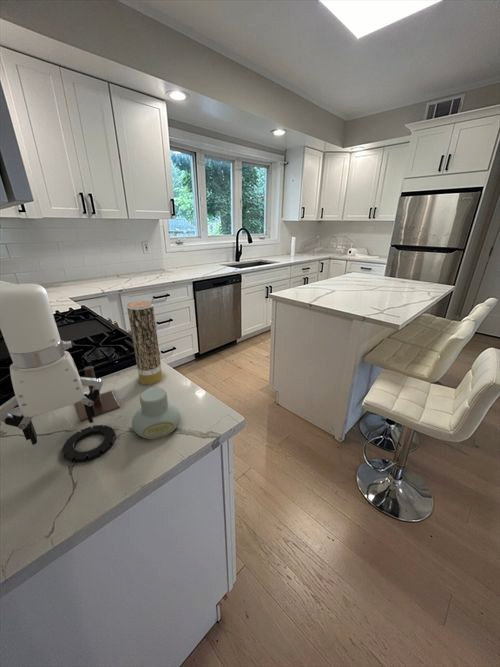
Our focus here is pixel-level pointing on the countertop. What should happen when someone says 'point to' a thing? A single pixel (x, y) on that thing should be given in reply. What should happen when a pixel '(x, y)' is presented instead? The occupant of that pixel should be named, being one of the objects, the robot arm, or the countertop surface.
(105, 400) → the holder
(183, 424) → the countertop surface
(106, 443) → the ring
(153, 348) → the patterned tall cylinder
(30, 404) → the robot arm
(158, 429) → the air freshener
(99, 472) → the countertop surface
